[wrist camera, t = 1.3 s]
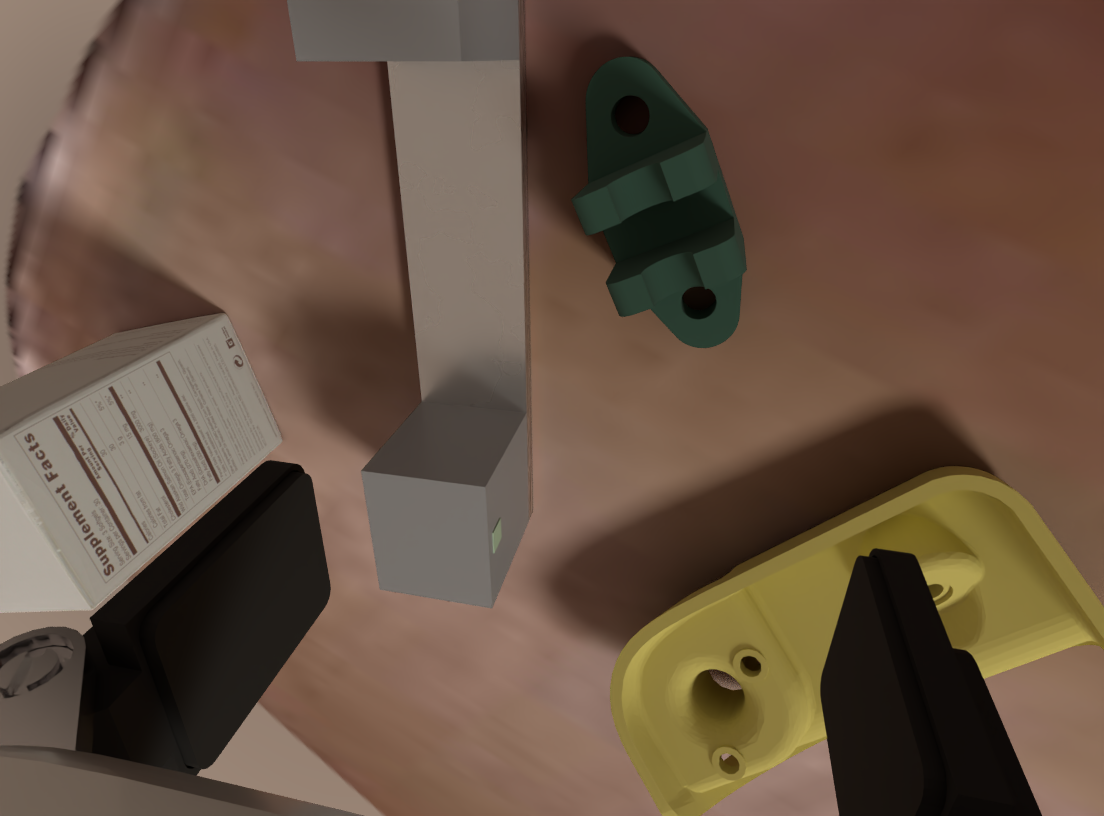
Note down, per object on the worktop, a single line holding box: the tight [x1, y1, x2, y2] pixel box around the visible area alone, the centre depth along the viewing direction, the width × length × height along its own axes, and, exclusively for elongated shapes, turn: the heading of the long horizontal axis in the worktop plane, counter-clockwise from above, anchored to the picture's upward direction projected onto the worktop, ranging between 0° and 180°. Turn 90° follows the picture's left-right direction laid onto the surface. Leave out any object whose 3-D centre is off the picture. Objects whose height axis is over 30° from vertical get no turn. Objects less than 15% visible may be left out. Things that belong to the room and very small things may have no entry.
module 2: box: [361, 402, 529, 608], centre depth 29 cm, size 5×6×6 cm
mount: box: [571, 57, 747, 348], centre depth 23 cm, size 11×4×5 cm, turn 25°
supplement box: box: [0, 313, 282, 613], centre depth 29 cm, size 7×7×13 cm
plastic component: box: [610, 466, 1104, 816], centre depth 31 cm, size 20×7×10 cm
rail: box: [387, 0, 533, 520], centre depth 28 cm, size 5×26×1 cm, turn 0°
